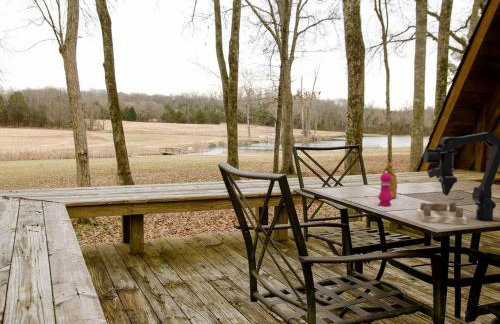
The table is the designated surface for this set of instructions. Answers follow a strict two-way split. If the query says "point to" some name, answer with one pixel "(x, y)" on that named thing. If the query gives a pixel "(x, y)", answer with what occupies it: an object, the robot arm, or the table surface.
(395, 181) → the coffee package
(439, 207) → the hinged leg
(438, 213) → the stool seat
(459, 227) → the table surface
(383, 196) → the pepper mill
